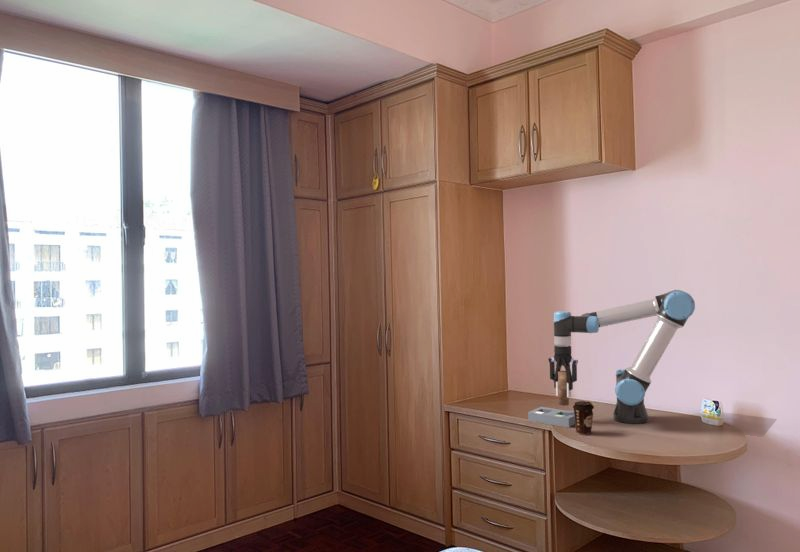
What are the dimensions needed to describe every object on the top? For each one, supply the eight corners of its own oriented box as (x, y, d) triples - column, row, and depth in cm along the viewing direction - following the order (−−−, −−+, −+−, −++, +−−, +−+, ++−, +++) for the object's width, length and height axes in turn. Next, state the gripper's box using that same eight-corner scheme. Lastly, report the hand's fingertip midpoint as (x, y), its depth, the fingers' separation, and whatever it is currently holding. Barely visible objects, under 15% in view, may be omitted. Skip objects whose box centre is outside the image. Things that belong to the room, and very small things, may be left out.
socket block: (541, 414, 279) (541, 406, 279) (581, 421, 266) (580, 412, 266) (528, 420, 269) (528, 411, 269) (568, 427, 256) (568, 418, 256)
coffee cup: (596, 431, 248) (596, 401, 248) (592, 436, 241) (591, 405, 241) (576, 429, 252) (575, 399, 252) (571, 434, 245) (570, 403, 245)
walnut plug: (570, 403, 264) (570, 371, 264) (566, 405, 261) (565, 372, 261) (561, 402, 267) (560, 370, 267) (556, 404, 264) (556, 371, 264)
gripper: (584, 345, 261) (585, 397, 261) (548, 343, 272) (549, 392, 273) (577, 347, 255) (578, 400, 255) (541, 344, 267) (542, 395, 267)
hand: (563, 396), depth 264 cm, fingers closed on walnut plug, 5 cm apart
